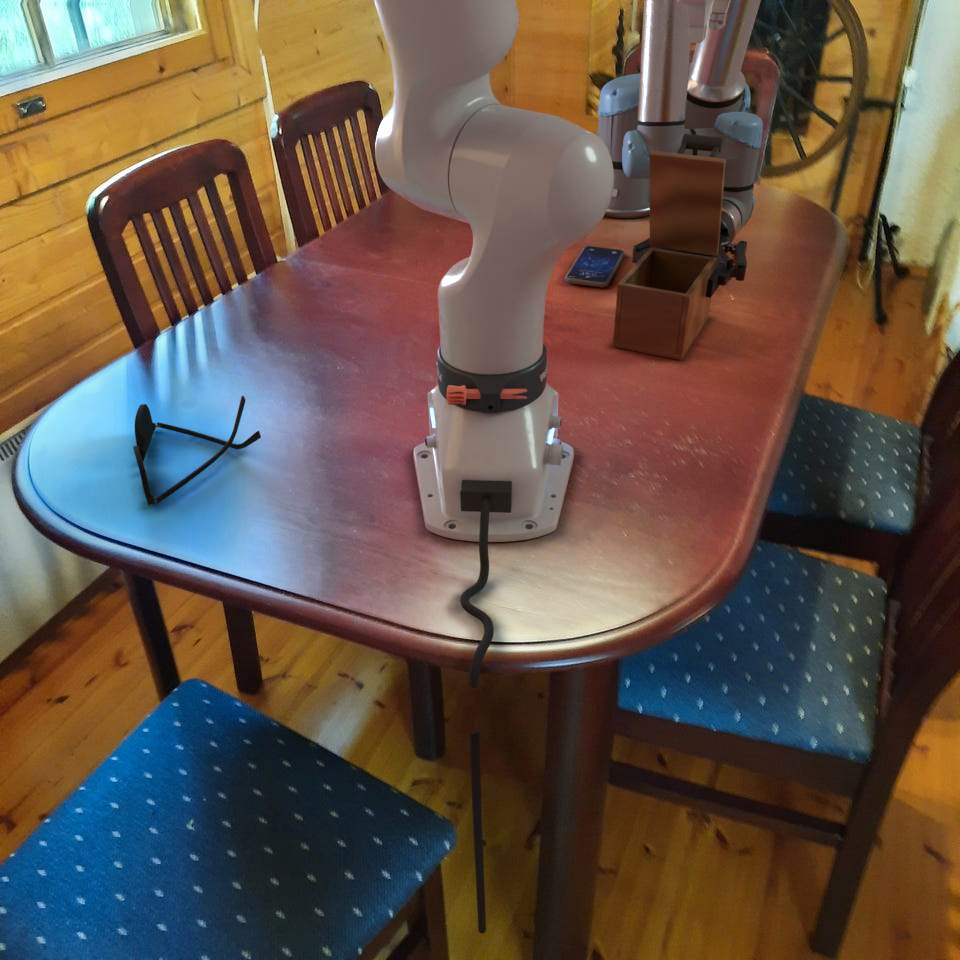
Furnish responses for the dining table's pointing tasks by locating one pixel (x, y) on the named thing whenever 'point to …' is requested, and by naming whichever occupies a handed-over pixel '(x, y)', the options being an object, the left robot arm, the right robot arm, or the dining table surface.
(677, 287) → the chest
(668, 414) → the dining table surface
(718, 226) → the lid
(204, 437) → the sunglasses
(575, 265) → the smartphone
